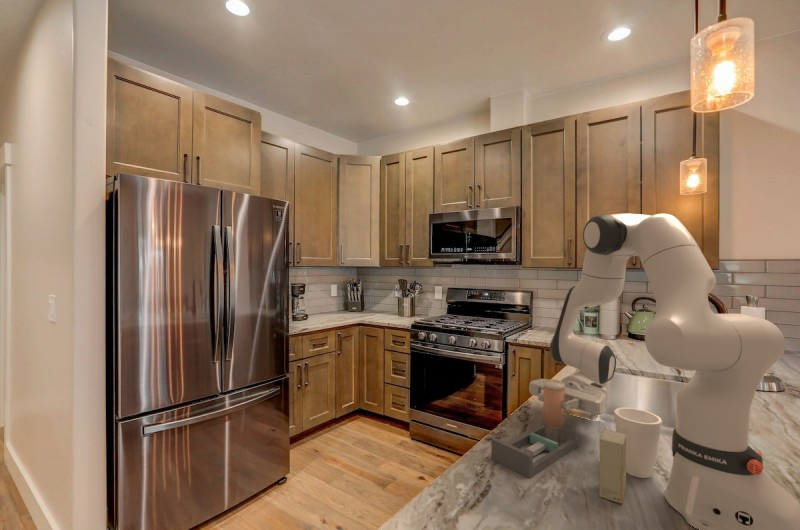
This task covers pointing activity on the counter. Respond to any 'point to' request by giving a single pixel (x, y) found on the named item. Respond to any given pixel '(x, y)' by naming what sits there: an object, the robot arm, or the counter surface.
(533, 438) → the pusher plate
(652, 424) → the foam cup
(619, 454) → the skincare box
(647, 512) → the counter surface
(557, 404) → the terracotta jar
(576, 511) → the counter surface
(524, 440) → the pusher lane
